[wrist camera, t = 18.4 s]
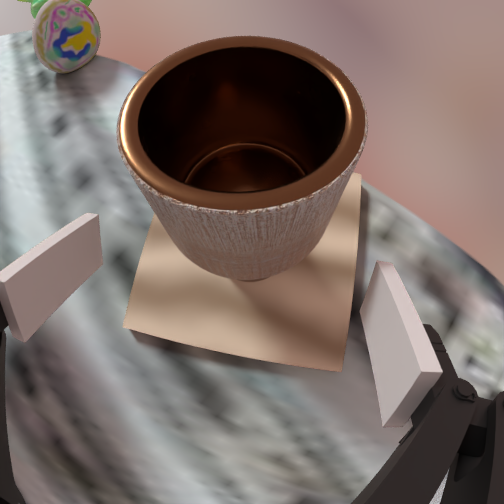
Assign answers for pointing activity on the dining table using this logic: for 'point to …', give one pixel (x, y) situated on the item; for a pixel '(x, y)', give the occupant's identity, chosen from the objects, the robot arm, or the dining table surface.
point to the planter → (243, 150)
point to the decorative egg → (65, 35)
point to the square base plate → (254, 298)
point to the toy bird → (37, 3)
